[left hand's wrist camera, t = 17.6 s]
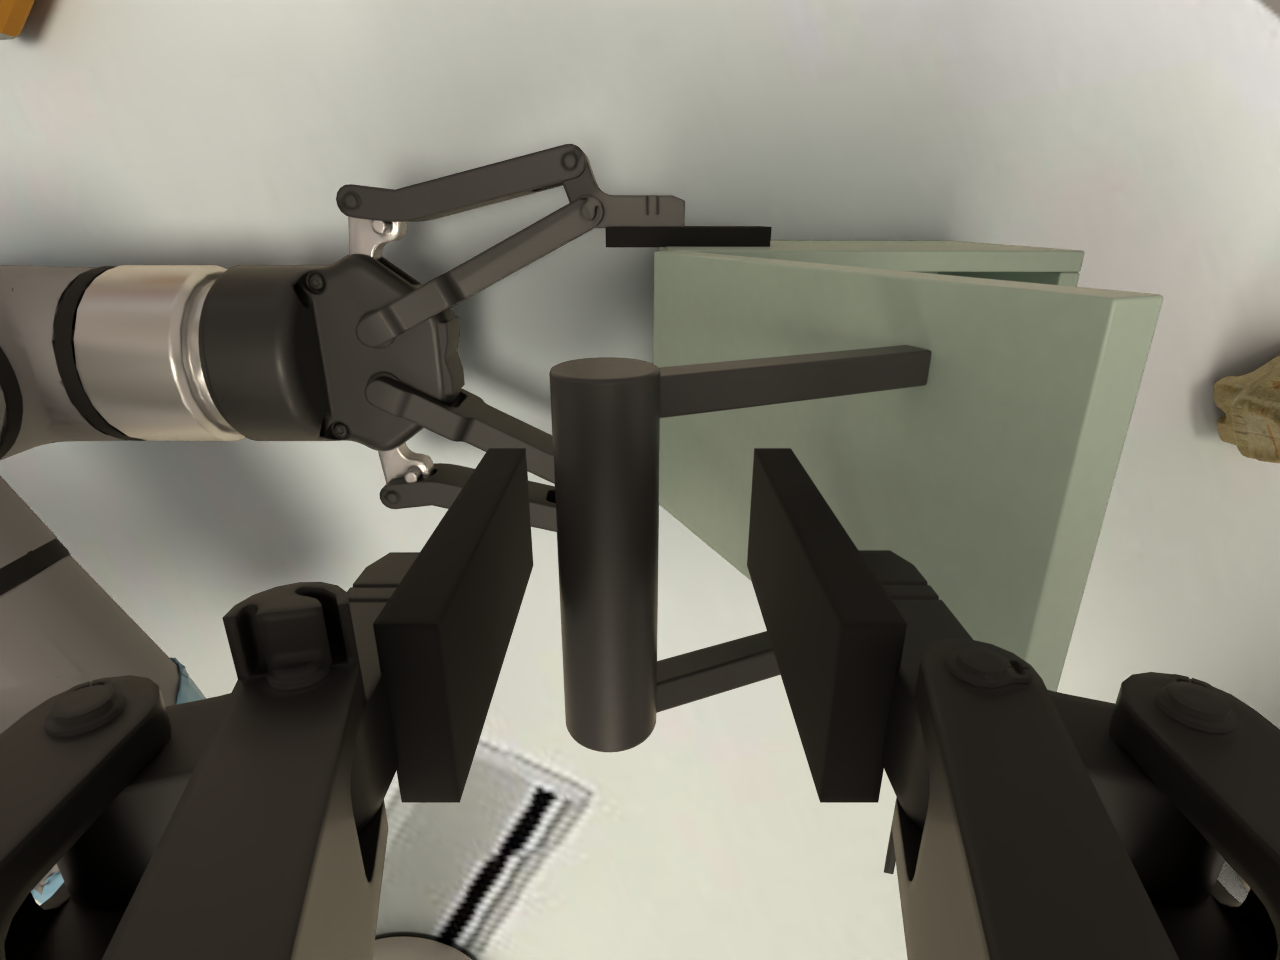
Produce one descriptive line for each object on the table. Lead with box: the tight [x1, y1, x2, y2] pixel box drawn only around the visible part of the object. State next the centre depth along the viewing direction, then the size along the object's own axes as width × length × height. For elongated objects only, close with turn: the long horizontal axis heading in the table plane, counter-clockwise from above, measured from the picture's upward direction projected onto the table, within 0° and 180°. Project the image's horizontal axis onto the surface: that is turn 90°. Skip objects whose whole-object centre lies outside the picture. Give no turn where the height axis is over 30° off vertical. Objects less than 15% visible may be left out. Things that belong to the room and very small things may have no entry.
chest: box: [659, 240, 1084, 287], centre depth 31 cm, size 15×9×11 cm, turn 90°
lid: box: [550, 251, 1163, 752], centre depth 17 cm, size 16×9×9 cm
